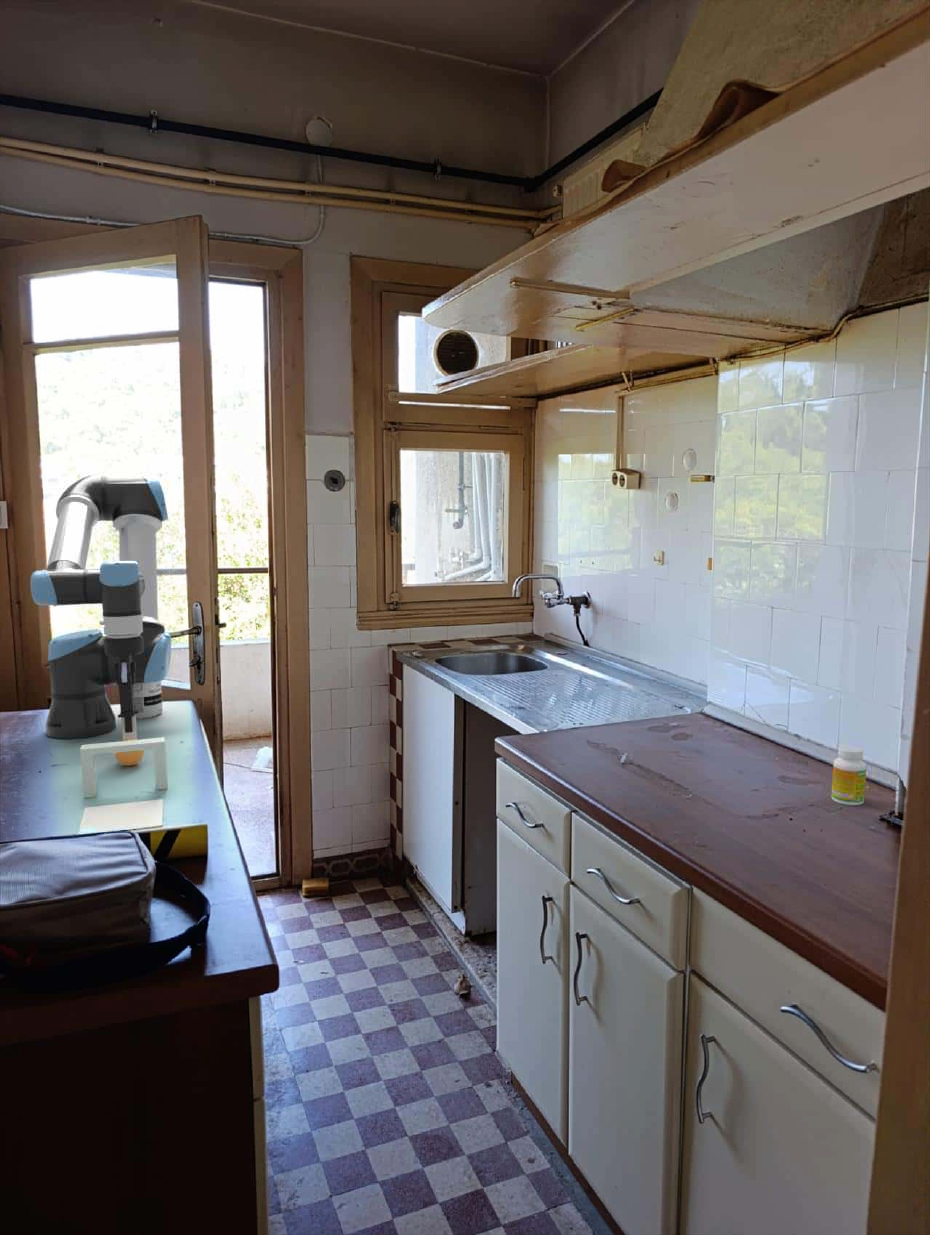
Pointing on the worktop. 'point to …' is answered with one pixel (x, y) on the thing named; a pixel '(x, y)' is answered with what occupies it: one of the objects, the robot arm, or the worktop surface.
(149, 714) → the supplement can
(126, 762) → the ball
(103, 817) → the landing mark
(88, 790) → the bridge
